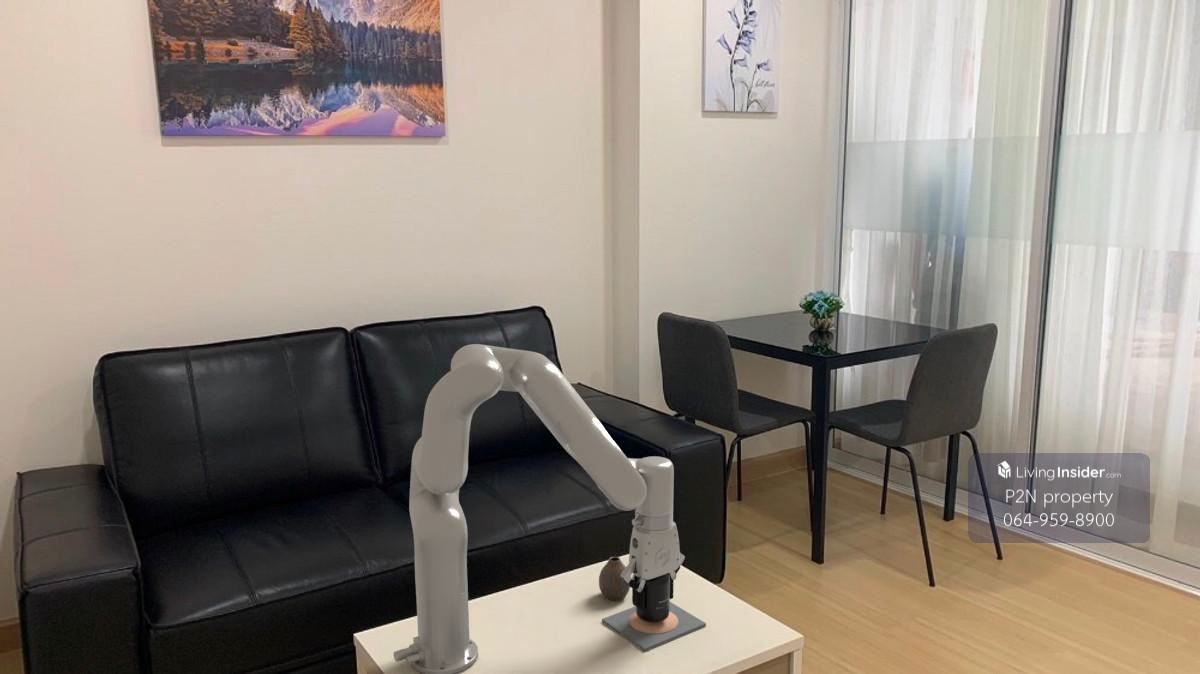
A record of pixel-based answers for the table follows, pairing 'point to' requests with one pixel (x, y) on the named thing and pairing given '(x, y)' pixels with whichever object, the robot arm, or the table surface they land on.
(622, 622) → the mat
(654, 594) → the supplement bottle
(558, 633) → the table surface
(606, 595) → the vase
